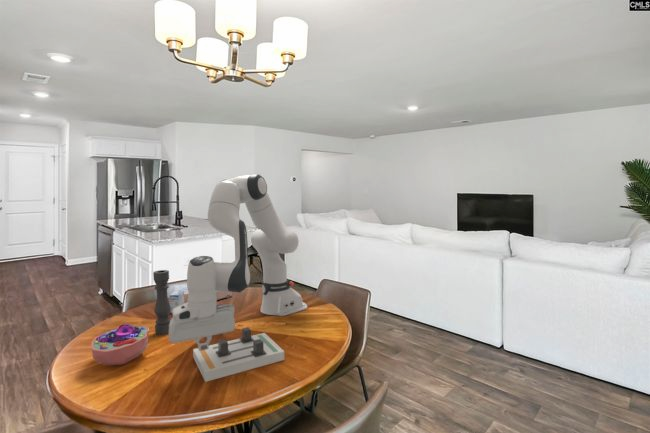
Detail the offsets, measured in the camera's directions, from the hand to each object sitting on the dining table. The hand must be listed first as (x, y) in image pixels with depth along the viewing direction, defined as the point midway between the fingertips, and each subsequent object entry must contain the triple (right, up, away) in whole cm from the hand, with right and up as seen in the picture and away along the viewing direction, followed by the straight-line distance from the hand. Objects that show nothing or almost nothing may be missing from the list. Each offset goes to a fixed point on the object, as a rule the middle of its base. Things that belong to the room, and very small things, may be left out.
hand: (203, 349), depth 113 cm
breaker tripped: (+5, -3, +3) cm, 7 cm away
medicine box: (-31, -2, +55) cm, 63 cm away
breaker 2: (+17, -3, +4) cm, 18 cm away
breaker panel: (+10, -6, +6) cm, 13 cm away
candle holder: (-26, -4, +29) cm, 39 cm away
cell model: (-30, -6, +6) cm, 31 cm away
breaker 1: (+11, -2, +14) cm, 18 cm away
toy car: (-18, -1, +72) cm, 74 cm away
